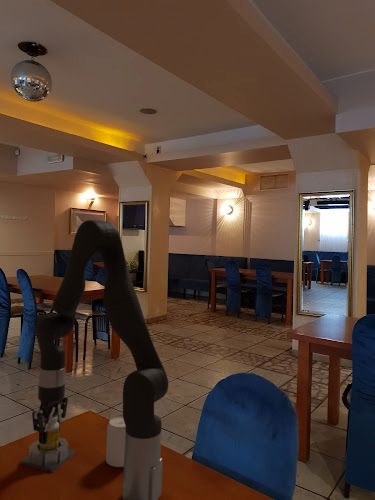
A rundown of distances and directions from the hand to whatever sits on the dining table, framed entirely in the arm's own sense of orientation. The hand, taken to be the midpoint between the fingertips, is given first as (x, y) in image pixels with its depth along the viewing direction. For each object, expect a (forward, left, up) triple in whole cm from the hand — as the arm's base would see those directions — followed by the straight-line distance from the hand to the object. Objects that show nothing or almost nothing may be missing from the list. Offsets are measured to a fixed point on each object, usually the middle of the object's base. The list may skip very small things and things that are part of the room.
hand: (49, 438), depth 119 cm
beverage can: (-20, -7, -6) cm, 22 cm away
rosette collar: (0, 0, -6) cm, 6 cm away
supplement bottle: (0, 0, -3) cm, 3 cm away
